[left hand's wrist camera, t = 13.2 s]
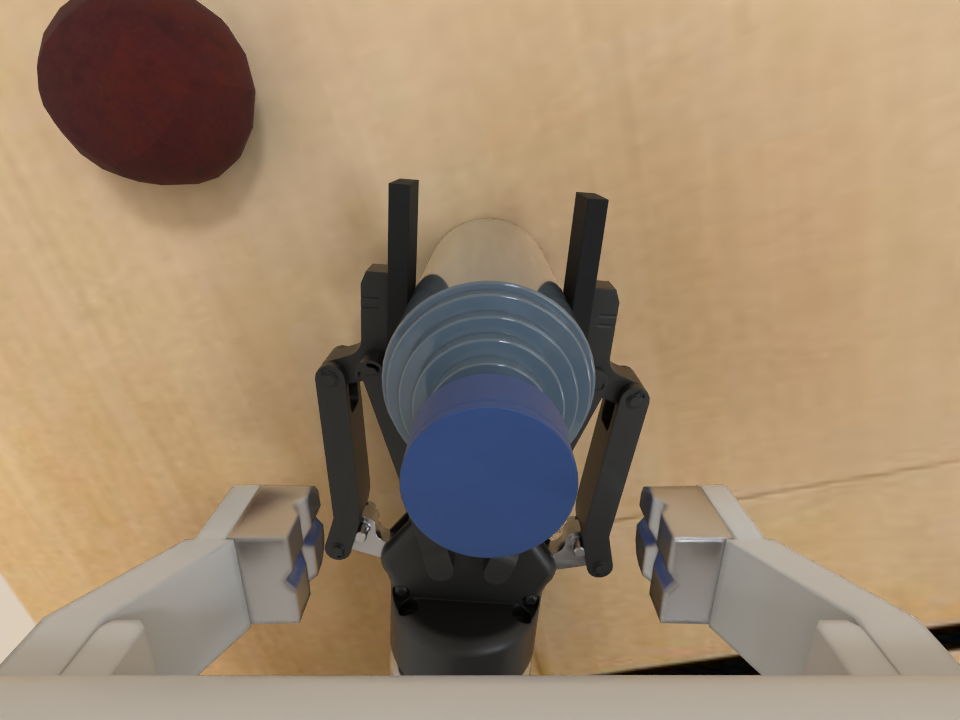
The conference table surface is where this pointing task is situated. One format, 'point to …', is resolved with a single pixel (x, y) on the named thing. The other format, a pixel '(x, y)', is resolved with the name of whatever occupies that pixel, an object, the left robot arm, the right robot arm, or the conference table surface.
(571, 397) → the bottle
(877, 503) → the conference table surface
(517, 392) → the cap
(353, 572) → the conference table surface
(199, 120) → the potato
